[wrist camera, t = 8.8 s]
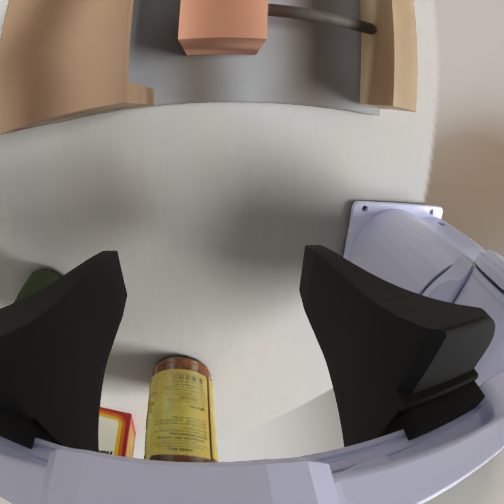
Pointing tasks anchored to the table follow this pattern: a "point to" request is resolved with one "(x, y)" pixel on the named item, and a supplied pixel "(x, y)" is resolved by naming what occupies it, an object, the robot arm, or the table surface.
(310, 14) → the pull block
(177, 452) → the sauce bottle
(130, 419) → the baking soda box
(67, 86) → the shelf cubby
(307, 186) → the table surface
